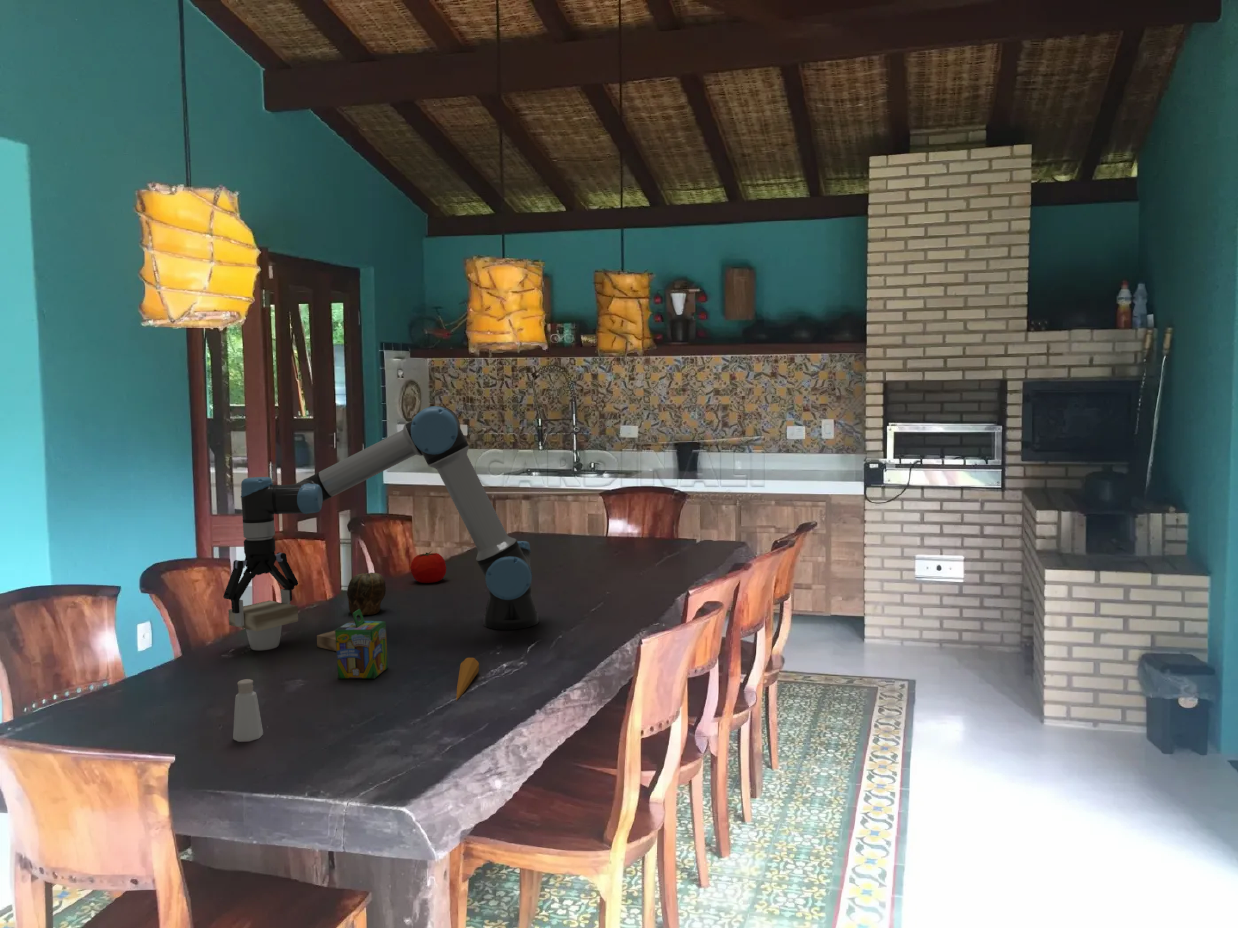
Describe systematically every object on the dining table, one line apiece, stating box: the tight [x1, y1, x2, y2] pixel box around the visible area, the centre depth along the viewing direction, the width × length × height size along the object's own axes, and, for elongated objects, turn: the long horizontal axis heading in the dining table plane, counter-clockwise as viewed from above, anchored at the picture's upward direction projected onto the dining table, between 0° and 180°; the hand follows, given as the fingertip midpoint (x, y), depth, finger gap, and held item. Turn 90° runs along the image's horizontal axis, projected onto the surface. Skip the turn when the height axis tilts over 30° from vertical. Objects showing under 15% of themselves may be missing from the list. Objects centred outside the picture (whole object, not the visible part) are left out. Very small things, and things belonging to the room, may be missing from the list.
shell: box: [346, 572, 387, 617], centre depth 284 cm, size 11×11×12 cm
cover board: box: [227, 600, 299, 631], centre depth 248 cm, size 12×12×4 cm
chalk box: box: [334, 609, 389, 680], centre depth 224 cm, size 9×9×15 cm
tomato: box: [410, 551, 447, 584], centre depth 326 cm, size 12×12×10 cm
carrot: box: [455, 657, 480, 702], centre depth 213 cm, size 20×4×4 cm, turn 0°
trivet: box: [316, 630, 336, 652], centre depth 249 cm, size 9×9×3 cm
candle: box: [245, 625, 283, 651], centre depth 249 cm, size 9×9×6 cm
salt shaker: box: [232, 678, 264, 743], centre depth 185 cm, size 5×5×11 cm
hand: (263, 619), depth 248 cm, fingers open, 13 cm apart
